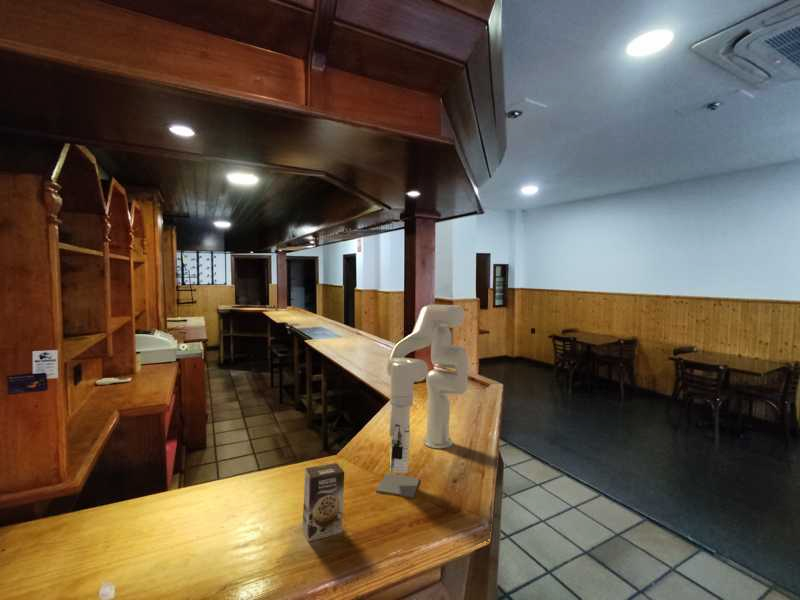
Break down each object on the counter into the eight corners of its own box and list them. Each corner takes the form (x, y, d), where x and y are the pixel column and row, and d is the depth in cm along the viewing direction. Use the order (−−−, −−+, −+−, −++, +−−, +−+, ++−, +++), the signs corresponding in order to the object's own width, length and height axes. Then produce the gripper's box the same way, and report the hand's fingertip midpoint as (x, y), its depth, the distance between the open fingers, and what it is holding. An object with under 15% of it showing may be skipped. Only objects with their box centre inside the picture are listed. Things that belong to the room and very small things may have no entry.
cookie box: (307, 542, 94) (310, 478, 94) (301, 528, 99) (304, 467, 99) (343, 533, 98) (345, 471, 98) (335, 520, 103) (337, 461, 103)
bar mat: (385, 475, 131) (385, 473, 131) (419, 479, 128) (419, 478, 128) (376, 492, 119) (376, 490, 119) (413, 497, 117) (413, 495, 117)
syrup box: (389, 465, 126) (391, 422, 126) (407, 465, 127) (408, 422, 127) (390, 473, 121) (392, 428, 121) (408, 473, 121) (410, 428, 121)
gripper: (396, 392, 133) (394, 443, 133) (383, 405, 116) (381, 463, 116) (417, 394, 132) (415, 445, 132) (407, 407, 115) (405, 466, 115)
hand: (399, 453), depth 124 cm, fingers closed on syrup box, 6 cm apart
